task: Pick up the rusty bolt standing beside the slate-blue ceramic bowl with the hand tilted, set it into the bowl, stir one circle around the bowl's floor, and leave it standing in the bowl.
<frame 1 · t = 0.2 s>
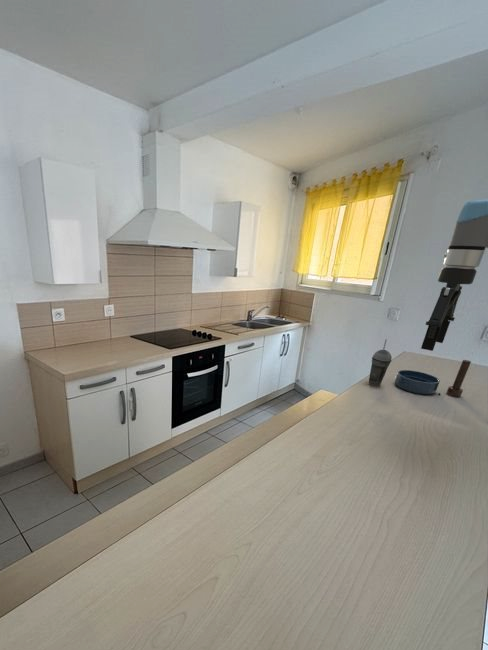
hand: (432, 345, 93), 28 cm above the worktop, tool pointing down, fingers open, 13 cm apart
bowl: (414, 388, 139), on the worktop
beverage cup: (374, 384, 141), on the worktop
rusty bolt: (453, 395, 134), on the worktop
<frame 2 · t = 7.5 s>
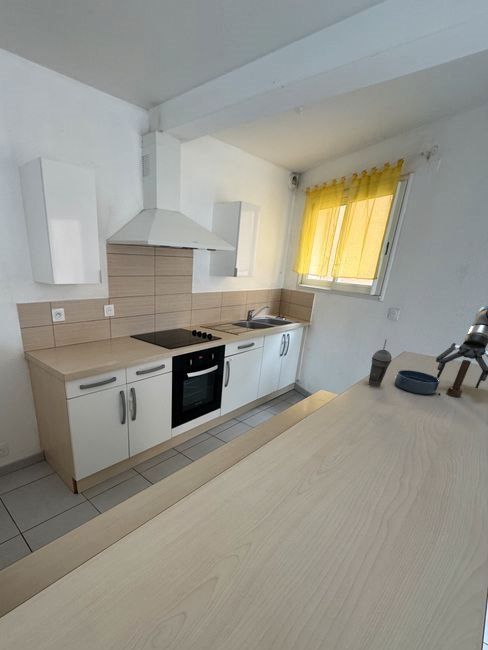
hand: (456, 381, 130), 7 cm above the worktop, tool tilted 45°, fingers open, 12 cm apart
nothing on the worktop moved.
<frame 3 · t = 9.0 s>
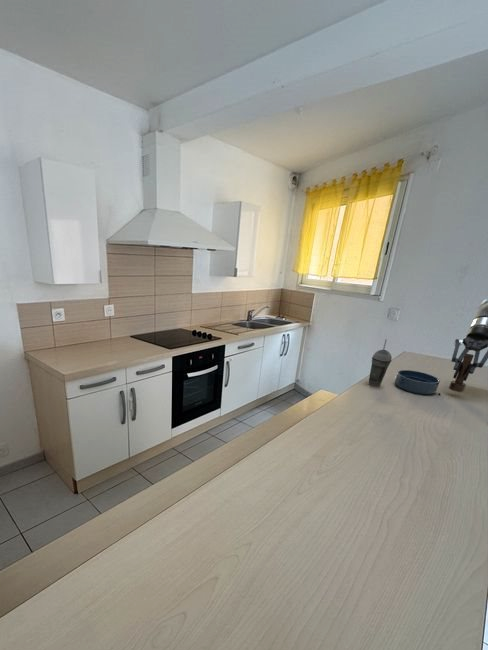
hand: (459, 377, 128), 9 cm above the worktop, tool tilted 45°, fingers closed on rusty bolt, 3 cm apart
rusty bolt: (455, 389, 133), point 3 cm above the worktop, touching gripper
everything else where it was.
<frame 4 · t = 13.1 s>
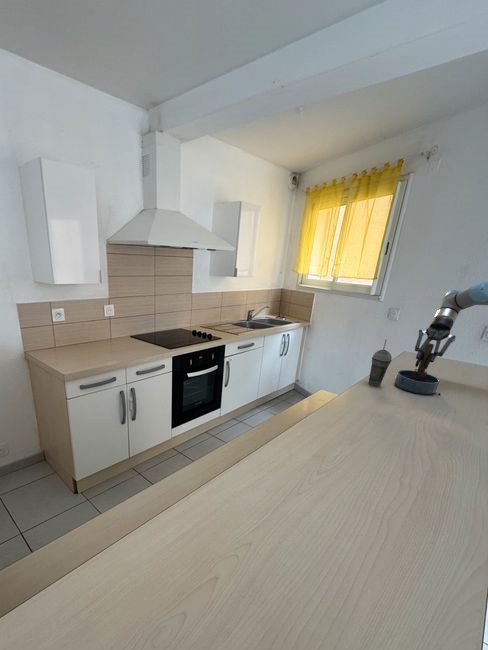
hand: (421, 366, 134), 10 cm above the worktop, tool tilted 45°, fingers closed on rusty bolt, 3 cm apart
rusty bolt: (418, 377, 139), point 4 cm above the worktop, touching gripper
everything else where it was.
when the fingers open (6 cm above the worktop, at t = 17.2 s): rusty bolt stays where it is, resting on bowl.
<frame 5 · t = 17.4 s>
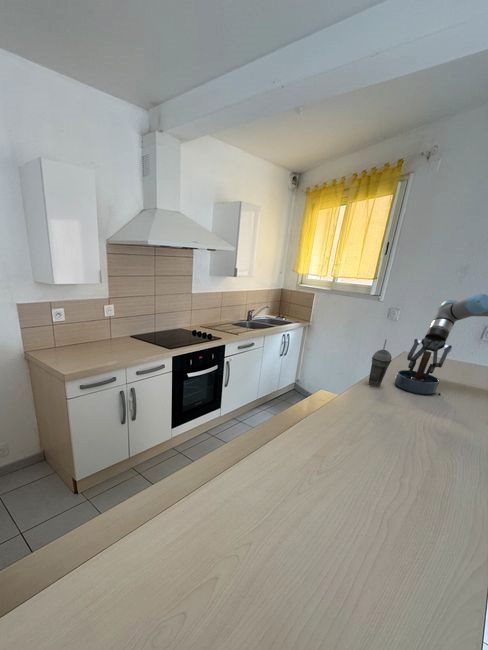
hand: (416, 376, 134), 6 cm above the worktop, tool tilted 45°, fingers open, 5 cm apart
rusty bolt: (415, 385, 139), point 1 cm above the worktop, touching bowl
everything else where it was.
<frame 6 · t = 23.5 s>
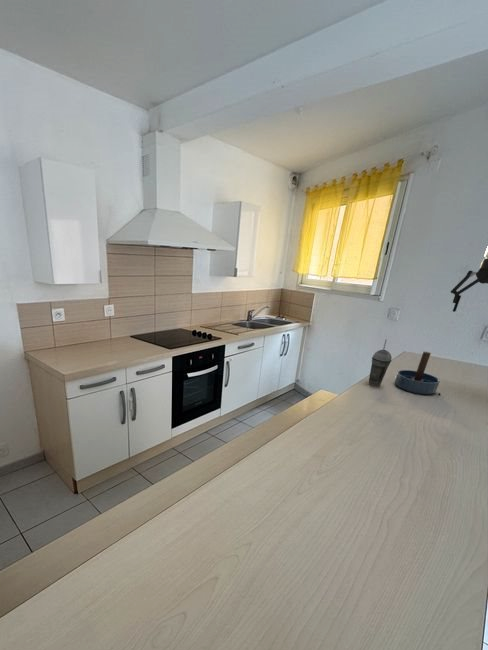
hand: (474, 314, 132), 32 cm above the worktop, tool pointing down, fingers open, 13 cm apart
at the end: rusty bolt 1.4 cm off-centre in the bowl, point 0.8 cm above the bowl's base; rusty bolt tilted 0°; the gripper is holding nothing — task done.
